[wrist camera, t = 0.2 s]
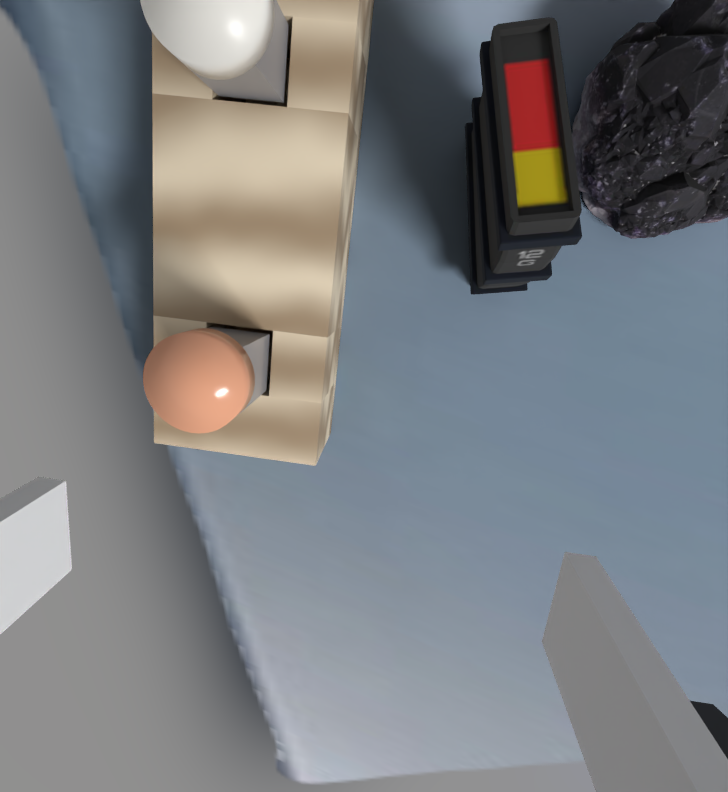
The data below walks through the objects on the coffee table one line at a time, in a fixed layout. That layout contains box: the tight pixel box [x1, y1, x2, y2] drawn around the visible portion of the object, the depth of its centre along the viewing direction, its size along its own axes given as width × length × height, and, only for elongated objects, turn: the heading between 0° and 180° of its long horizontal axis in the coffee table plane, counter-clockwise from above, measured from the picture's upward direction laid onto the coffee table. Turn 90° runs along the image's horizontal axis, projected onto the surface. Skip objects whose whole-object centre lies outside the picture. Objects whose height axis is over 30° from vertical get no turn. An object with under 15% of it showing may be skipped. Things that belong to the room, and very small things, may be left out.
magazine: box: [465, 17, 582, 294], centre depth 30 cm, size 4×13×15 cm, turn 5°
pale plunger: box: [140, 0, 288, 103], centre depth 25 cm, size 6×6×8 cm
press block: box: [152, 0, 374, 466], centre depth 34 cm, size 32×12×7 cm, turn 173°
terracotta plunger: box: [143, 327, 270, 434], centre depth 29 cm, size 6×6×8 cm
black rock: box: [572, 0, 728, 238], centre depth 29 cm, size 13×14×10 cm
